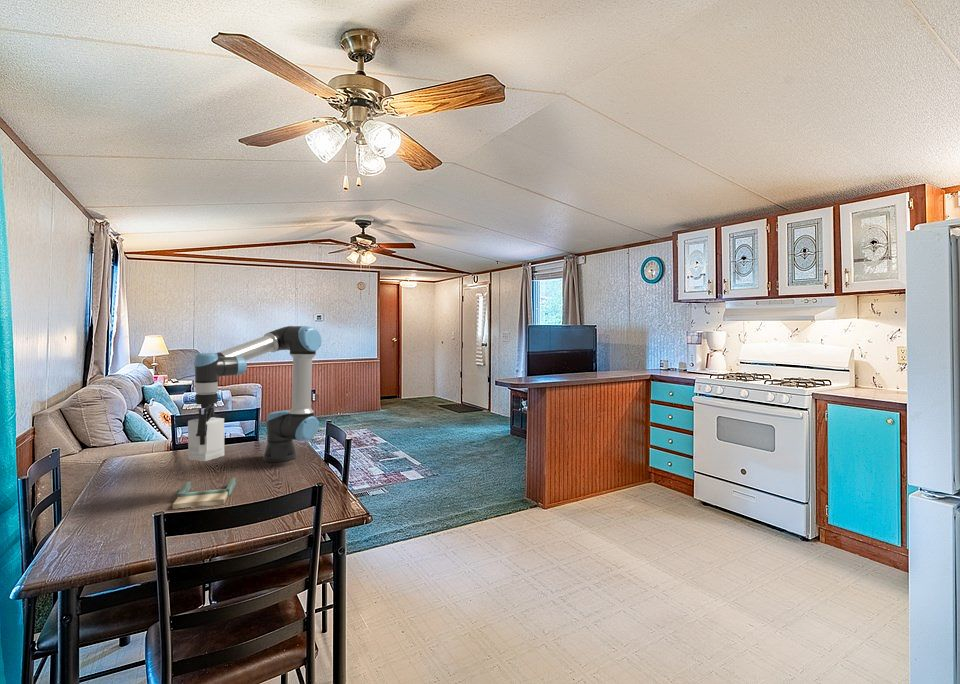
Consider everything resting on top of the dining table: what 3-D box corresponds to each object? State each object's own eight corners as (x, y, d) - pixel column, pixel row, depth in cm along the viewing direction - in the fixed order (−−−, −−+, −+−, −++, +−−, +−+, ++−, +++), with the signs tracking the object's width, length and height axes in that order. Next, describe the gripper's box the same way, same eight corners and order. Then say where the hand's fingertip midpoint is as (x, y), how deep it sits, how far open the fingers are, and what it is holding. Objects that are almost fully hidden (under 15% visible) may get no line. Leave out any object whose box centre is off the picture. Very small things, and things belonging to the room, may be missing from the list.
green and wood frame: (235, 484, 191) (235, 477, 191) (225, 504, 170) (225, 496, 170) (187, 489, 185) (187, 481, 185) (170, 509, 164) (170, 501, 164)
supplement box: (225, 455, 183) (225, 417, 183) (205, 461, 175) (205, 422, 175) (208, 453, 186) (207, 416, 186) (187, 459, 178) (187, 420, 178)
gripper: (202, 389, 190) (203, 441, 191) (187, 398, 167) (187, 457, 168) (223, 388, 193) (223, 440, 193) (210, 397, 170) (211, 456, 170)
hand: (206, 448), depth 181 cm, fingers closed on supplement box, 12 cm apart
